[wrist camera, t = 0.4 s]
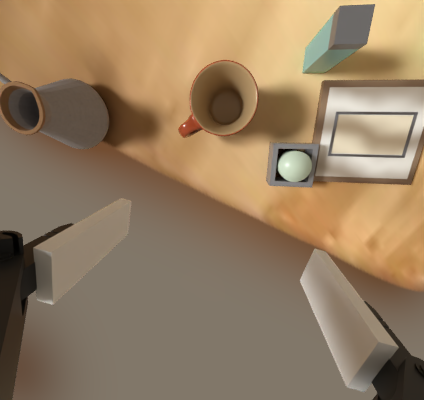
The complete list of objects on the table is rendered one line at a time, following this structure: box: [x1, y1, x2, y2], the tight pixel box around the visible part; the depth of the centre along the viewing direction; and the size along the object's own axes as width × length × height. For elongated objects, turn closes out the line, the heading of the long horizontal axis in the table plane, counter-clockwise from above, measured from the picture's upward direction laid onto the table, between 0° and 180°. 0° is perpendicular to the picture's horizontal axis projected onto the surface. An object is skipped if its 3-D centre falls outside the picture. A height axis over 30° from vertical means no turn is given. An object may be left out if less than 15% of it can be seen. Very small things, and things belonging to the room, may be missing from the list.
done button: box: [276, 150, 312, 182], centre depth 34 cm, size 5×5×4 cm
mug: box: [178, 60, 258, 138], centre depth 31 cm, size 12×9×10 cm
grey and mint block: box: [303, 4, 375, 73], centre depth 27 cm, size 3×3×11 cm
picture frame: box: [312, 80, 424, 185], centre depth 34 cm, size 16×17×1 cm
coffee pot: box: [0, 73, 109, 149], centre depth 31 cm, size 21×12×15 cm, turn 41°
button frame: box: [266, 142, 319, 187], centre depth 35 cm, size 7×7×4 cm
